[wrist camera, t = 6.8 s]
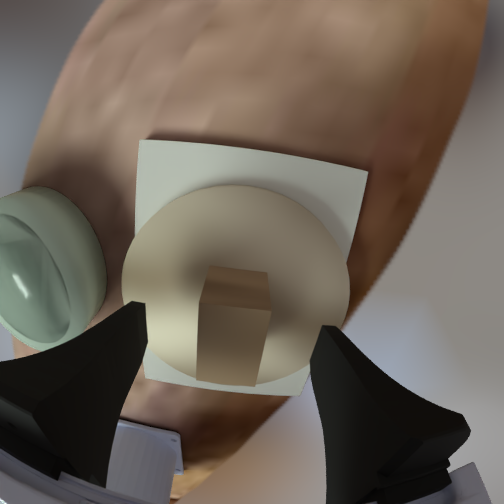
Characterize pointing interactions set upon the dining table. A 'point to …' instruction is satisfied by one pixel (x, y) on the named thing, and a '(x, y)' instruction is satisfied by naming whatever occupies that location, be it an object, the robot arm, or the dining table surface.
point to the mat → (254, 174)
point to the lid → (236, 284)
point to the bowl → (48, 268)
